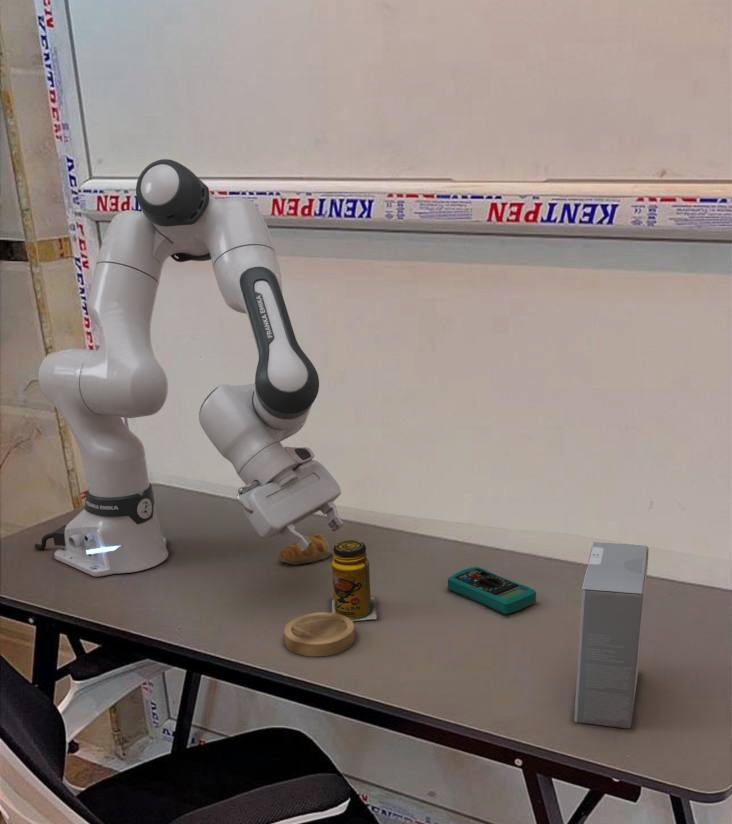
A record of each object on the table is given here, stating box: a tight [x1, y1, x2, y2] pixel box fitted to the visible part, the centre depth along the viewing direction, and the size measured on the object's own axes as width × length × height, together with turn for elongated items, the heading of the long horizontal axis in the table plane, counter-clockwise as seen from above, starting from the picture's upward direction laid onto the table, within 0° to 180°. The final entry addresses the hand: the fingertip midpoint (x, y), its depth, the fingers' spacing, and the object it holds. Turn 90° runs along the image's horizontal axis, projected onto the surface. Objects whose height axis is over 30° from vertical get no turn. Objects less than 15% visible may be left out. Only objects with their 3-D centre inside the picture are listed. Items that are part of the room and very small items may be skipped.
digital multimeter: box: [447, 566, 537, 616], centre depth 164 cm, size 7×15×3 cm, turn 39°
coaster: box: [283, 611, 356, 658], centre depth 152 cm, size 11×11×2 cm
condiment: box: [331, 539, 377, 622], centre depth 159 cm, size 7×8×12 cm
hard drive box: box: [574, 541, 650, 729], centre depth 130 cm, size 16×8×20 cm, turn 163°
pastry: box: [279, 533, 332, 566], centre depth 181 cm, size 9×7×4 cm
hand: (323, 537), depth 160 cm, fingers open, 8 cm apart
